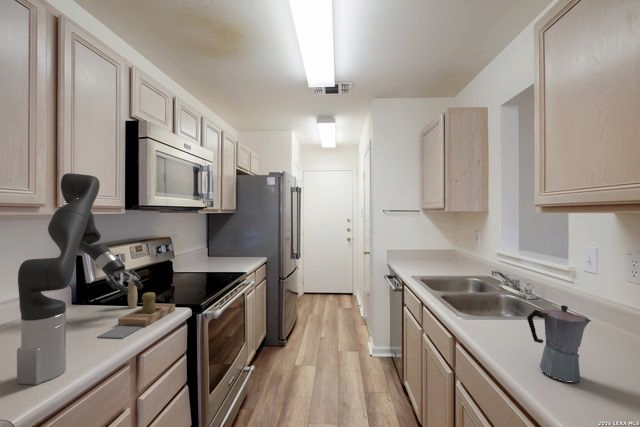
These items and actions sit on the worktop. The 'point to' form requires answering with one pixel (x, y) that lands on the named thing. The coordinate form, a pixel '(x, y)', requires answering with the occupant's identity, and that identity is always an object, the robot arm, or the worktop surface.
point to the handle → (132, 294)
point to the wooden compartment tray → (146, 316)
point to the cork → (148, 303)
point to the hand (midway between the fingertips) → (134, 290)
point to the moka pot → (560, 342)
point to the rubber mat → (119, 332)
